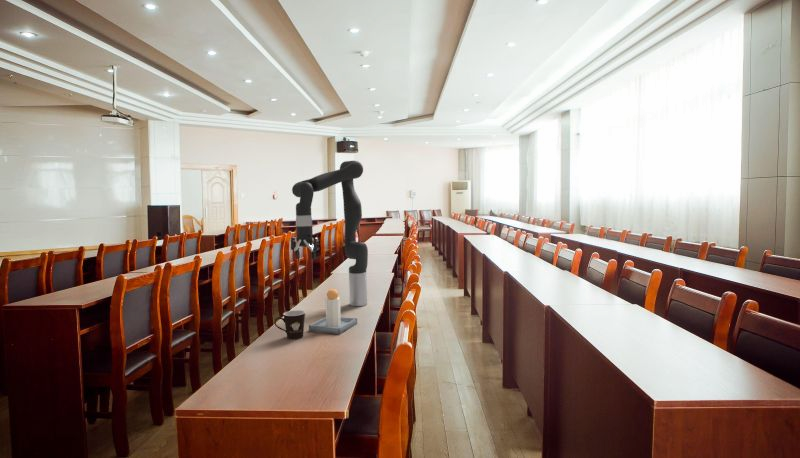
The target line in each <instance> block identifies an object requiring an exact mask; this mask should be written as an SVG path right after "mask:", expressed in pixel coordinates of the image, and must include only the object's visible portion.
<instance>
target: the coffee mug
mask: <svg viewBox="0 0 800 458" xmlns="http://www.w3.org/2000/svg"><path fill="white" fill-rule="evenodd" d="M305 318H306V312H305V311H304V310H298V309H297V310H295V309H294V310H289V311H284V312H283V317H277V318H275V319H274V322H273V323H274V325H275V327H276V328H278V330H281V331H283V332H285V333H286V338H287V339H288V340H300V339H302V338H303V337H304V329H305ZM278 320H282V322H283V323H284V324H285V325H284V326H285V329H284V328H282V327H280V326H279V325H277V321H278Z"/></svg>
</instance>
